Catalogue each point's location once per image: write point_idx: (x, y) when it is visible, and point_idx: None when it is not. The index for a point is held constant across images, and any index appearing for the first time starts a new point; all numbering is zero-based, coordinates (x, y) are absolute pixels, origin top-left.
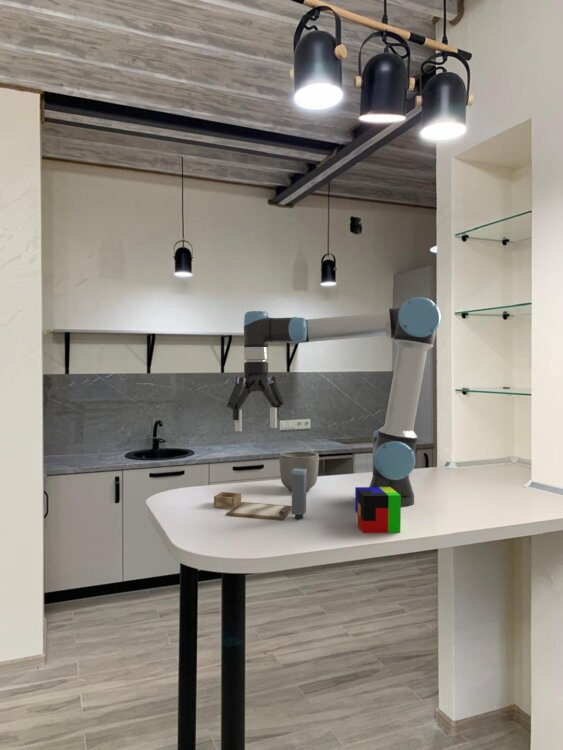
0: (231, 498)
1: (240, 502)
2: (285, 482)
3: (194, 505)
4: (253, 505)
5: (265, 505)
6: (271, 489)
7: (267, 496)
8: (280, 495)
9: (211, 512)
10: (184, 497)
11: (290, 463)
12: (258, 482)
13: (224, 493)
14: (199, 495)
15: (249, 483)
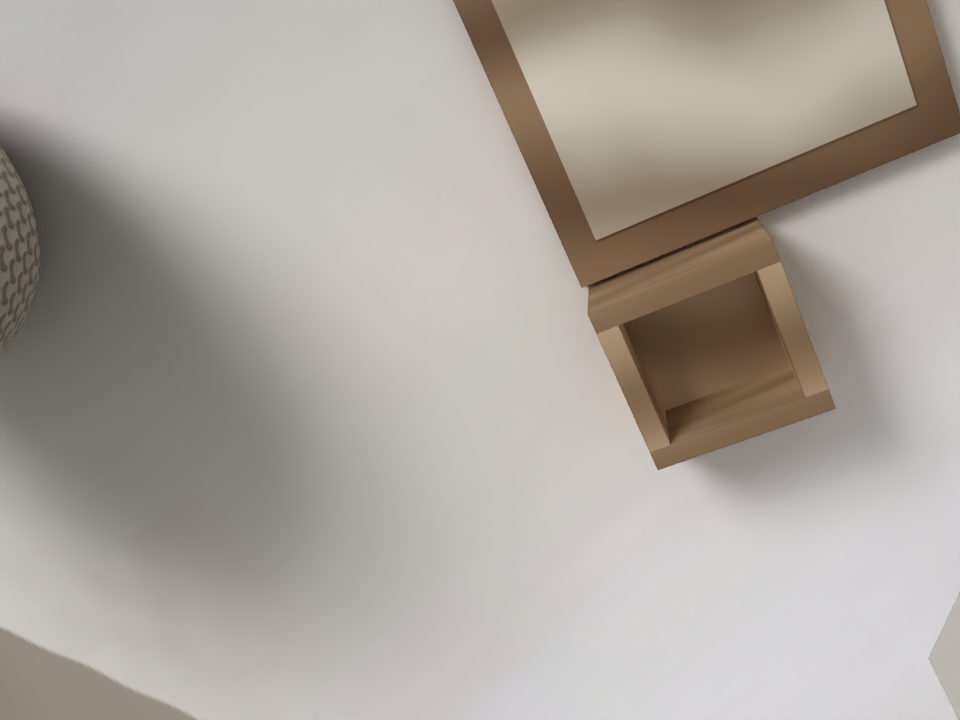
0: (779, 262)
1: (608, 283)
2: (34, 263)
3: (850, 521)
4: (616, 128)
5: (548, 45)
6: (85, 408)
7: (263, 287)
8: (161, 228)
9: (943, 289)
10: (715, 710)
11: None
12: (19, 612)
13: (666, 431)
14: (602, 673)
15: (91, 639)
